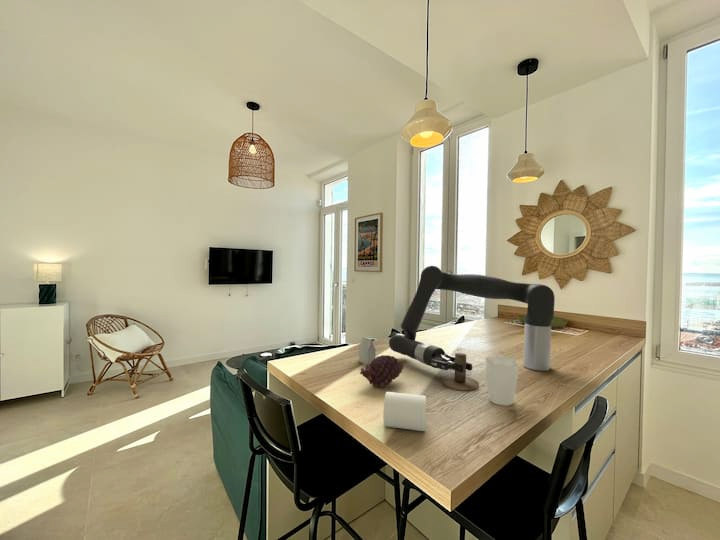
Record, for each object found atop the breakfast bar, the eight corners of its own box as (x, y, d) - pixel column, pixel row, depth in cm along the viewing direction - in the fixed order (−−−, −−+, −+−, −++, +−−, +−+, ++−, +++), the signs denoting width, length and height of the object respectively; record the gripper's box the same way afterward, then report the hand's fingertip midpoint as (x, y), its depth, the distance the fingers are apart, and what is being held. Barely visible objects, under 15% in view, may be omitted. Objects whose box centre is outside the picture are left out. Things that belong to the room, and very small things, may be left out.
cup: (479, 394, 98) (481, 356, 97) (509, 395, 97) (510, 356, 97) (491, 407, 89) (492, 365, 88) (523, 408, 88) (524, 366, 88)
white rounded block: (425, 438, 73) (426, 404, 72) (382, 432, 75) (383, 399, 74) (425, 413, 84) (425, 384, 84) (388, 409, 86) (389, 381, 86)
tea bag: (367, 366, 122) (367, 340, 122) (358, 361, 128) (359, 336, 128) (375, 364, 124) (375, 339, 124) (366, 359, 130) (367, 336, 130)
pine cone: (393, 375, 113) (394, 347, 112) (413, 384, 105) (414, 354, 104) (353, 386, 102) (354, 355, 102) (372, 396, 94) (373, 364, 94)
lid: (459, 375, 114) (460, 347, 114) (486, 387, 103) (487, 357, 103) (434, 380, 108) (435, 351, 108) (460, 393, 98) (461, 362, 97)
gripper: (415, 347, 114) (453, 360, 99) (442, 342, 121) (481, 354, 107) (415, 368, 114) (452, 383, 99) (442, 361, 122) (480, 375, 107)
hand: (467, 368), depth 103 cm, fingers closed on lid, 3 cm apart
